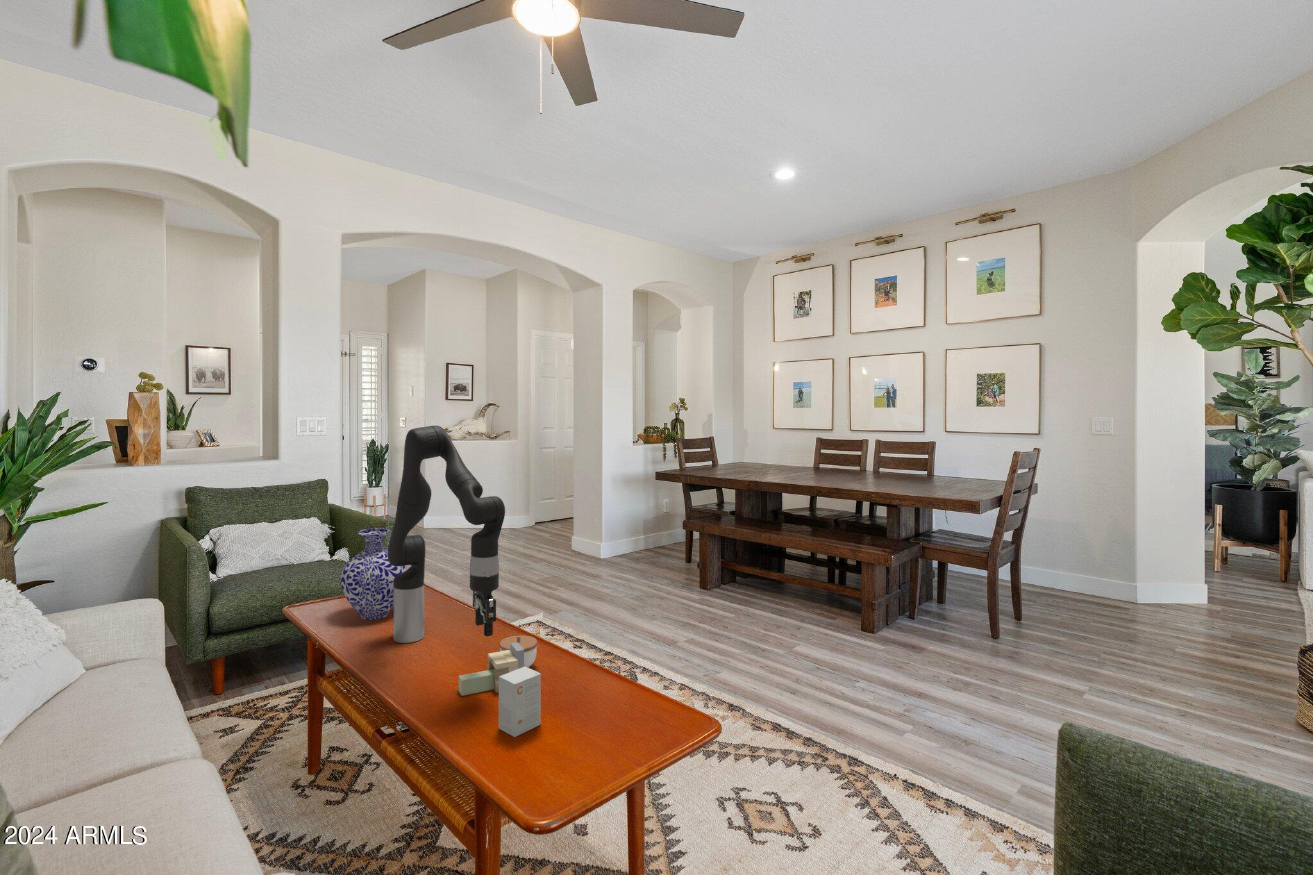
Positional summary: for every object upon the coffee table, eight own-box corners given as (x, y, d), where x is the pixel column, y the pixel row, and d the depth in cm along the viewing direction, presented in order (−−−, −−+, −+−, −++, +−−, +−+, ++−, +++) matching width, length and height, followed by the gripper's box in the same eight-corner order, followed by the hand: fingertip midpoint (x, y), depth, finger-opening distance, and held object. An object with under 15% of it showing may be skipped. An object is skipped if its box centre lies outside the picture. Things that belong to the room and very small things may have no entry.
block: (487, 680, 183) (487, 653, 183) (508, 676, 186) (509, 649, 186) (496, 692, 176) (496, 664, 176) (517, 688, 179) (518, 660, 179)
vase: (353, 605, 242) (352, 525, 240) (414, 605, 245) (413, 525, 242) (331, 626, 221) (330, 538, 219) (397, 625, 223) (397, 538, 221)
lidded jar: (544, 664, 195) (544, 633, 194) (522, 678, 185) (522, 646, 185) (514, 657, 199) (515, 627, 199) (491, 671, 190) (491, 639, 189)
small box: (524, 716, 164) (525, 665, 163) (541, 725, 160) (541, 673, 159) (497, 728, 158) (498, 675, 157) (514, 738, 154) (514, 684, 153)
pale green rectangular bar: (458, 691, 177) (458, 675, 177) (502, 682, 183) (502, 667, 183) (461, 696, 174) (461, 680, 174) (506, 687, 180) (506, 671, 180)
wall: (510, 677, 185) (510, 643, 185) (516, 676, 186) (517, 642, 186) (516, 686, 180) (517, 650, 180) (523, 685, 181) (524, 649, 181)
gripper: (463, 565, 181) (463, 623, 182) (477, 580, 168) (476, 641, 170) (490, 562, 184) (490, 619, 186) (506, 576, 172) (505, 637, 173)
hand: (483, 630), depth 178 cm, fingers open, 8 cm apart
